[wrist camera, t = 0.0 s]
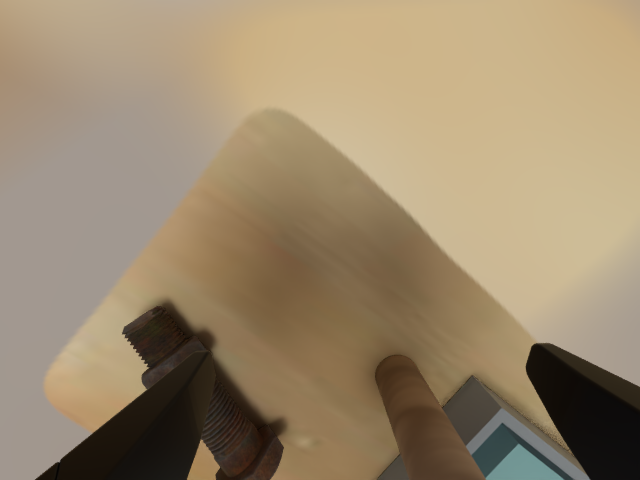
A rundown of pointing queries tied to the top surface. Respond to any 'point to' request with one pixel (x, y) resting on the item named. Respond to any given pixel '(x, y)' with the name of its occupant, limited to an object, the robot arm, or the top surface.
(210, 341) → the top surface
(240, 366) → the top surface
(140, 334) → the bolt
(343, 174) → the top surface
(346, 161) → the top surface
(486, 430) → the rim box
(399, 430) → the peg
